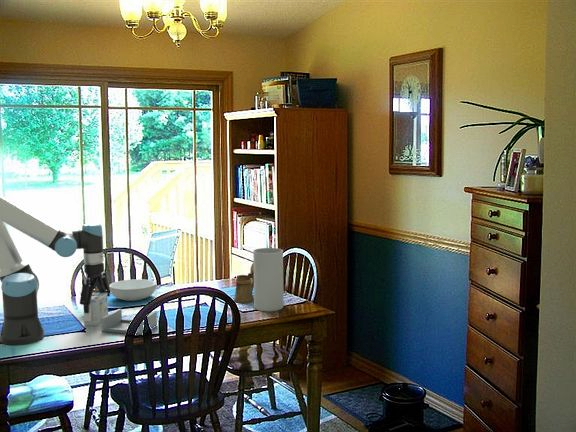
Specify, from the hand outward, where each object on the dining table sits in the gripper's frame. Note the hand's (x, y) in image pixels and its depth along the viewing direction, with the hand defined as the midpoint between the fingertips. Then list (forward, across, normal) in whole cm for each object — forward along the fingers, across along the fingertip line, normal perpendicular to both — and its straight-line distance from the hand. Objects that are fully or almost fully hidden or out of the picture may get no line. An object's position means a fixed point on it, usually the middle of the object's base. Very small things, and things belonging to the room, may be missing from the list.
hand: (96, 316), depth 266 cm
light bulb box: (+2, 0, 0) cm, 2 cm away
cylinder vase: (+2, +36, -61) cm, 71 cm away
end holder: (+2, -6, -18) cm, 19 cm away
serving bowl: (+3, +37, +4) cm, 37 cm away
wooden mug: (+2, +47, -48) cm, 67 cm away
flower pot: (+2, +12, +9) cm, 15 cm away
